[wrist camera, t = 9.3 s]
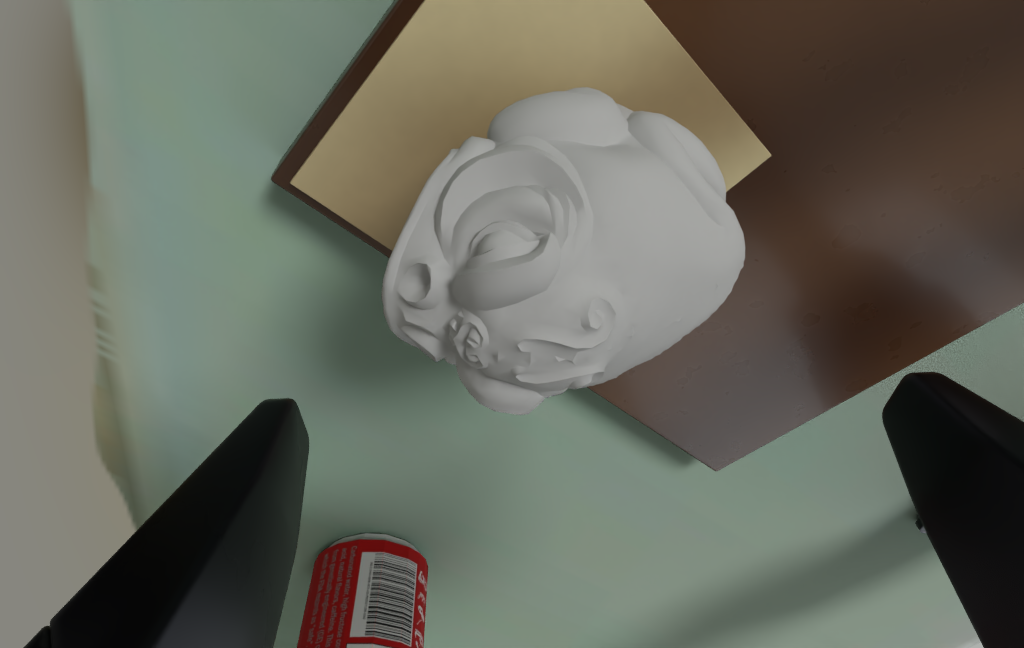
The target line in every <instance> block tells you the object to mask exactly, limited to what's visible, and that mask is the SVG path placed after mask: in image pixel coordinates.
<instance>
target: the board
mask: <svg viewBox="0 0 1024 648" xmlns="http://www.w3.org/2000/svg"><path fill="white" fill-rule="evenodd" d="M581 87H589V88H592V89H596V90H599V91H601V92H603V93H605V94H606V95H608V96H610V97H611V98H613V100H614V101H615V103H617V104H620V105H622V106H624V107H626V108H628V109H630V110H632V111H634V112H635V111H645V112H652V113H659V114H663V115H665V116H667V117H669V118H671V119H673V120H674V121H676V122H677V123H679V124H680V125H682V126H684V127H685V128H687V129H688V130H689V131H691V132H692V133H693V134H694V135H695V136H696V137H697V138H698V139H700V140H701V141H702V143H703V144H704V145H705V147H706V148H707V149H708V151H709V152H710V153H711V154H712V156H713V157H714V158H715V160H716V162H717V164H718V166H719V169H720V171H721V173H722V175H723V178H724V182H725V186H726V203H727V204H728V205H729V206H730V208H731V209H732V210H733V211H734V213H735V215H736V218H737V220H738V222H739V224H740V227H741V229H742V231H743V234H744V241H745V260H744V262H743V263H744V267H743V268H742V269H741V270H740V273H739V276H738V279H737V280H736V282H735V283H734V285H733V288H732V291H731V293H730V294H729V295H728V296H727V298H726V300H725V301H724V302H723V303H722V304H721V305H720V306H719V307H718V309H717V310H716V311H715V312H714V313H713V314H711V316H710V317H709V318H708V319H707V320H706V321H704V322H703V323H701V324H700V326H698V327H696V328H695V329H693V330H692V331H691V332H690V333H689V334H687V335H685V336H683V337H682V339H681V340H680V341H678V342H677V343H675V344H673V345H672V347H670V348H669V349H667V350H665V351H663V352H662V353H661V354H660V355H657V356H655V357H654V358H653V359H651V360H648V361H646V362H644V363H641V364H639V365H637V366H635V367H633V368H631V369H629V370H627V371H625V372H624V373H622V374H621V375H619V376H618V377H617V378H614V379H611V380H608V381H606V382H604V383H601V384H596V385H594V386H588V387H587V388H589V389H591V390H592V391H594V392H595V393H597V394H598V395H600V396H601V397H603V398H604V399H606V400H607V401H609V402H610V403H612V404H613V405H615V406H617V407H618V408H620V409H621V410H623V411H624V412H626V413H627V414H629V415H630V416H632V417H633V418H635V419H636V420H638V421H639V422H641V423H643V424H644V425H646V426H647V427H649V428H650V429H652V430H653V431H655V432H656V433H658V434H659V435H661V436H662V437H664V438H665V439H667V440H669V441H670V442H672V443H673V444H675V445H676V446H678V447H679V448H681V449H682V450H684V451H685V452H687V453H688V454H690V455H691V456H693V457H695V458H696V459H698V460H699V461H701V462H702V463H704V464H705V465H707V466H708V467H710V468H711V469H713V470H714V471H718V470H720V469H722V468H724V467H726V466H727V465H729V464H731V463H733V462H735V461H737V460H738V459H740V458H742V457H744V456H746V455H747V454H749V453H751V452H753V451H755V450H757V449H758V448H760V447H762V446H764V445H766V444H767V443H769V442H771V441H773V440H775V439H777V438H778V437H780V436H782V435H784V434H786V433H787V432H789V431H791V430H793V429H795V428H797V427H798V426H800V425H802V424H804V423H806V422H807V421H809V420H811V419H813V418H815V417H817V416H818V415H820V414H822V413H824V412H826V411H827V410H829V409H831V408H833V407H835V406H837V405H838V404H840V403H842V402H844V401H846V400H847V399H849V398H851V397H853V396H855V395H857V394H858V393H860V392H862V391H864V390H866V389H867V388H869V387H871V386H873V385H875V384H876V383H878V382H880V381H882V380H884V379H886V378H887V377H889V376H891V375H893V374H895V373H896V372H898V371H900V370H902V369H904V368H906V367H907V366H909V365H911V364H913V363H915V362H916V361H918V360H920V359H922V358H924V357H926V356H927V355H929V354H931V353H933V352H935V351H936V350H938V349H940V348H942V347H944V346H946V345H947V344H949V343H951V342H953V341H955V340H956V339H958V338H960V337H962V336H964V335H966V334H967V333H969V332H971V331H973V330H975V329H976V328H978V327H980V326H982V325H984V324H986V323H987V322H989V321H991V320H993V319H995V318H996V317H998V316H1000V315H1002V314H1004V313H1006V312H1007V311H1009V310H1011V309H1013V308H1015V307H1016V306H1018V305H1020V304H1022V303H1024V0H394V1H393V3H392V4H391V6H390V7H389V9H388V10H387V11H386V13H385V14H384V16H383V17H382V18H381V20H380V21H379V23H378V24H377V25H376V27H375V28H374V30H373V31H372V32H371V34H370V35H369V37H368V38H367V39H366V41H365V42H364V44H363V45H362V46H361V48H360V49H359V51H358V52H357V53H356V55H355V56H354V58H353V59H352V60H351V62H350V63H349V65H348V66H347V67H346V69H345V70H344V72H343V73H342V74H341V76H340V77H339V79H338V80H337V82H336V83H335V84H334V86H333V87H332V89H331V90H330V91H329V93H328V94H327V96H326V97H325V98H324V100H323V101H322V103H321V104H320V105H319V107H318V108H317V110H316V111H315V112H314V114H313V115H312V117H311V118H310V119H309V121H308V122H307V124H306V125H305V126H304V128H303V129H302V131H301V132H300V133H299V135H298V136H297V138H296V139H295V140H294V142H293V143H292V145H291V146H290V147H289V149H288V150H287V152H286V153H285V155H284V156H283V157H282V159H281V160H280V162H279V164H278V166H277V168H276V169H275V171H274V173H273V175H272V177H271V180H272V181H273V182H274V183H276V184H277V185H279V186H280V187H282V188H283V189H285V190H286V191H288V192H289V193H291V194H292V195H294V196H295V197H297V198H298V199H300V200H302V201H303V202H305V203H306V204H308V205H309V206H311V207H312V208H314V209H315V210H317V211H318V212H320V213H321V214H323V215H324V216H326V217H328V218H329V219H331V220H332V221H334V222H335V223H337V224H338V225H340V226H341V227H343V228H344V229H346V230H347V231H349V232H350V233H352V234H354V235H355V236H357V237H358V238H360V239H361V240H363V241H364V242H366V243H367V244H369V245H370V246H372V247H373V248H375V249H376V250H378V251H380V252H381V253H383V254H384V255H386V256H387V257H389V258H390V256H391V254H392V251H393V249H394V247H395V245H396V242H397V240H398V238H399V236H400V234H401V231H402V229H403V227H404V225H405V223H406V221H407V219H408V217H409V215H410V213H411V211H412V209H413V207H414V205H415V203H416V201H417V199H418V197H419V195H420V193H421V191H422V189H423V187H424V185H425V183H426V181H427V180H428V178H429V177H430V176H431V174H432V173H433V172H434V170H435V169H436V168H437V167H438V166H439V164H440V163H441V162H442V161H443V160H444V159H445V158H446V157H447V156H448V154H449V152H450V150H451V149H459V148H460V147H461V145H462V144H463V142H464V141H465V140H466V139H468V138H470V137H471V136H474V137H480V138H486V139H488V138H487V132H488V129H489V125H490V123H491V121H492V120H493V118H494V117H495V116H496V115H497V114H498V113H499V112H501V111H502V110H503V109H505V108H506V107H508V106H510V105H512V104H513V103H515V102H517V101H520V100H523V99H526V98H529V97H531V96H534V95H539V94H544V93H549V92H554V91H567V90H570V89H573V88H581Z"/></svg>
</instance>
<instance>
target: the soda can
mask: <svg viewBox="0 0 1024 648" xmlns="http://www.w3.org/2000/svg"><path fill="white" fill-rule="evenodd" d="M427 577H428V565H427V562H426V559H425V558H424V557H423V556H422V555H421V554H420V553H419V552H418V550H417V549H416V548H415V547H414V546H413V545H412V544H410V543H408V542H407V541H405V540H402V539H399V538H396V537H393V536H390V535H386V534H370V533H364V534H359V535H354V536H349V537H344V538H342V539H340V540H338V541H336V542H334V543H333V544H332V545H331V546H329V547H328V548H326V549H325V550H324V551H323V552H321V553H320V554H319V555H318V557H317V559H316V561H315V564H314V569H313V573H312V578H311V583H310V588H309V592H308V597H307V602H306V607H305V611H304V616H303V621H302V626H301V630H300V635H299V640H298V645H297V648H423V645H424V628H425V611H426V594H427Z"/></svg>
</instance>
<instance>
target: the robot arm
mask: <svg viewBox="0 0 1024 648" xmlns="http://www.w3.org/2000/svg"><path fill="white" fill-rule="evenodd" d="M882 419H883V424H884V427H885V430H886V432H887V435H888V438H889V440H890V443H891V446H892V448H893V451H894V454H895V456H896V459H897V462H898V464H899V467H900V470H901V472H902V475H903V478H904V480H905V483H906V486H907V488H908V491H909V494H910V496H911V499H912V501H913V504H914V506H915V509H916V511H917V514H918V516H919V519H918V520H917V521H916V523H915V524H916V526H917V527H918V529H919V530H920V532H921V533H927V535H928V537H929V539H930V541H931V543H932V545H933V547H934V549H935V551H936V553H937V555H938V557H939V559H940V561H941V563H942V565H943V567H944V569H945V571H946V573H947V575H948V577H949V579H950V581H951V583H952V585H953V587H954V589H955V591H956V593H957V595H958V597H959V599H960V601H961V603H962V605H963V607H964V609H965V611H966V613H967V615H968V617H969V619H970V621H971V623H972V625H973V627H974V629H975V631H976V633H977V635H978V637H979V639H980V641H981V643H982V645H983V647H984V648H1024V422H1023V421H1021V420H1019V419H1018V418H1016V417H1014V416H1013V415H1011V414H1009V413H1007V412H1006V411H1004V410H1002V409H1001V408H999V407H997V406H995V405H994V404H992V403H990V402H989V401H987V400H985V399H984V398H982V397H980V396H978V395H977V394H975V393H973V392H972V391H970V390H968V389H966V388H965V387H963V386H961V385H960V384H958V383H956V382H955V381H953V380H951V379H949V378H948V377H946V376H944V375H942V374H940V373H936V372H919V373H909V374H907V375H906V376H904V377H903V379H902V380H901V381H900V383H899V384H898V386H897V388H896V389H895V391H894V392H893V394H892V396H891V397H890V399H889V400H888V402H887V403H886V405H885V407H884V409H883V413H882ZM308 453H309V437H308V433H307V430H306V427H305V424H304V422H303V419H302V416H301V413H300V411H299V408H298V405H297V403H296V402H295V401H294V400H293V399H290V398H284V399H267V400H264V401H263V402H261V403H260V404H259V405H258V406H257V407H256V408H255V409H254V410H253V411H252V412H251V413H250V414H249V415H248V416H247V417H246V418H245V419H244V420H243V421H242V422H241V423H240V424H239V426H238V427H237V428H236V429H235V430H234V431H233V432H232V433H231V434H230V435H229V436H228V437H227V438H226V439H225V440H224V441H223V442H222V443H221V444H220V445H219V446H218V447H217V448H216V449H215V450H214V451H213V452H212V453H211V455H210V456H209V457H208V458H207V459H206V460H205V461H204V462H203V463H202V464H201V465H200V466H199V467H198V468H197V469H196V470H195V471H194V472H193V473H192V474H191V475H190V476H189V477H188V478H187V479H186V480H185V481H184V482H183V484H182V485H181V486H180V487H179V488H178V489H177V490H176V491H175V492H174V493H173V494H172V495H171V496H170V497H169V498H168V499H167V500H166V501H165V502H164V503H163V504H162V505H161V506H160V507H159V508H158V509H157V510H156V511H155V513H154V514H153V515H152V516H151V517H150V518H149V519H148V520H147V521H146V522H145V523H144V524H143V525H142V526H141V527H140V528H139V529H138V530H137V531H136V532H135V533H134V534H133V535H132V536H131V538H129V540H127V542H126V543H125V544H124V545H123V546H122V547H121V548H120V549H119V550H118V551H117V552H116V553H115V554H114V555H113V556H112V557H111V558H110V559H109V560H108V561H107V562H106V563H105V564H104V565H103V566H102V567H101V568H100V569H99V571H98V572H97V573H96V574H95V575H94V576H93V577H92V578H91V579H90V580H89V581H88V582H87V583H86V584H85V585H84V586H83V587H82V588H81V589H80V590H79V591H78V592H77V593H76V594H75V596H73V597H72V598H71V600H70V601H69V602H68V603H67V604H66V605H65V606H64V607H63V608H62V609H61V610H60V611H59V612H58V613H57V614H56V615H55V616H54V617H53V618H52V619H51V621H50V626H45V627H44V628H42V629H41V630H40V631H39V632H38V633H37V635H35V636H34V637H33V639H32V640H31V641H30V642H29V643H28V644H27V645H26V646H25V647H24V648H273V646H274V642H275V637H276V633H277V629H278V625H279V621H280V617H281V613H282V608H283V604H284V600H285V596H286V592H287V588H288V584H289V580H290V575H291V571H292V567H293V563H294V558H295V553H296V549H297V542H298V535H299V527H300V519H301V511H302V503H303V494H304V486H305V478H306V470H307V461H308Z"/></svg>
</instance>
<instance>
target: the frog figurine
mask: <svg viewBox="0 0 1024 648" xmlns="http://www.w3.org/2000/svg"><path fill="white" fill-rule="evenodd" d="M487 138H488V139H486V138H480V137H474V136H471V137H470V138H468V139H466V140H465V141H464V142H463V144H462V145H461V147H460V148H459V149H451V150H450V152H449V154H448V156H447V157H446V158H445V159H444V160H443V161H442V162H441V163H440V164H439V166H438V167H437V168H436V169H435V170H434V172H433V173H432V174H431V176H430V177H429V178H428V180H427V181H426V183H425V185H424V187H423V189H422V191H421V193H420V195H419V197H418V199H417V201H416V203H415V205H414V207H413V209H412V211H411V213H410V215H409V217H408V219H407V221H406V223H405V225H404V227H403V229H402V231H401V234H400V236H399V238H398V240H397V242H396V245H395V247H394V249H393V251H392V254H391V256H390V258H389V260H388V264H387V267H386V271H385V274H384V278H383V285H382V296H381V297H382V302H383V306H384V316H385V318H386V321H387V323H388V326H389V328H390V329H391V331H392V332H393V333H394V334H395V335H396V336H397V337H398V338H400V339H401V340H403V341H405V342H407V343H408V344H410V345H412V346H415V347H418V348H419V349H420V350H421V351H422V352H424V353H425V354H426V355H427V356H428V357H430V358H431V359H432V360H434V361H435V362H437V361H439V360H441V359H443V358H444V359H445V360H446V361H447V362H448V363H449V364H453V365H456V367H457V372H458V375H459V378H460V380H461V381H462V383H463V384H464V386H465V387H466V389H467V390H468V392H469V393H470V394H471V395H472V396H473V397H474V398H475V399H476V400H477V401H478V402H479V403H480V404H482V405H484V406H486V407H488V408H489V409H491V410H493V411H497V412H503V413H510V414H516V415H523V414H529V413H530V412H531V411H532V410H533V409H534V408H536V407H537V406H538V405H539V404H540V403H541V402H543V400H544V398H548V397H550V396H555V395H559V394H562V393H563V392H565V391H566V390H567V389H568V388H570V389H577V388H584V387H588V386H594V385H596V384H601V383H604V382H606V381H608V380H611V379H614V378H617V377H618V376H619V375H621V374H622V373H624V372H625V371H627V370H629V369H631V368H633V367H635V366H637V365H639V364H641V363H644V362H646V361H648V360H651V359H653V358H654V357H655V356H657V355H660V354H661V353H662V352H663V351H665V350H667V349H669V348H670V347H672V345H673V344H675V343H677V342H678V341H680V340H681V339H682V337H683V336H685V335H687V334H689V333H690V332H691V331H692V330H693V329H695V328H696V327H698V326H700V324H701V323H703V322H704V321H706V320H707V319H708V318H709V317H710V316H711V314H713V313H714V312H715V311H716V310H717V309H718V307H719V306H720V305H721V304H722V303H723V302H724V301H725V300H726V298H727V296H728V295H729V294H730V293H731V291H732V288H733V285H734V283H735V282H736V280H737V279H738V276H739V273H740V270H741V269H742V268H743V267H744V263H743V262H744V260H745V241H744V234H743V231H742V229H741V227H740V224H739V222H738V220H737V218H736V215H735V213H734V211H733V210H732V209H731V208H730V206H729V205H728V204H727V203H726V186H725V182H724V178H723V175H722V173H721V171H720V169H719V166H718V164H717V162H716V160H715V158H714V157H713V156H712V154H711V153H710V152H709V151H708V149H707V148H706V147H705V145H704V144H703V143H702V141H701V140H700V139H698V138H697V137H696V136H695V135H694V134H693V133H692V132H691V131H689V130H688V129H687V128H685V127H684V126H682V125H680V124H679V123H677V122H676V121H674V120H673V119H671V118H669V117H667V116H665V115H663V114H659V113H652V112H645V111H635V112H634V111H632V110H630V109H628V108H626V107H624V106H622V105H620V104H617V103H615V101H614V100H613V98H611V97H610V96H608V95H606V94H605V93H603V92H601V91H599V90H596V89H592V88H589V87H581V88H573V89H570V90H567V91H554V92H549V93H544V94H539V95H534V96H531V97H529V98H526V99H523V100H520V101H517V102H515V103H513V104H512V105H510V106H508V107H506V108H505V109H503V110H502V111H501V112H499V113H498V114H497V115H496V116H495V117H494V118H493V120H492V121H491V123H490V125H489V129H488V132H487Z"/></svg>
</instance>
